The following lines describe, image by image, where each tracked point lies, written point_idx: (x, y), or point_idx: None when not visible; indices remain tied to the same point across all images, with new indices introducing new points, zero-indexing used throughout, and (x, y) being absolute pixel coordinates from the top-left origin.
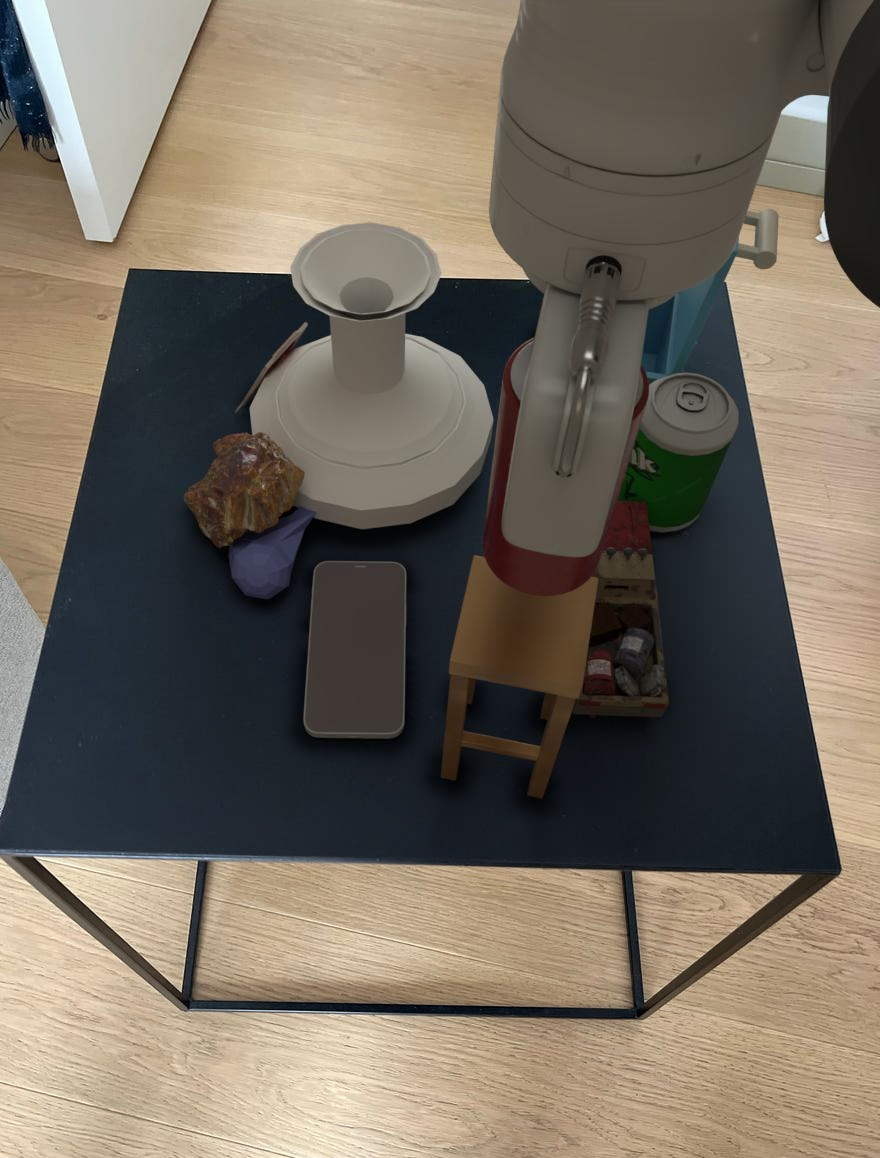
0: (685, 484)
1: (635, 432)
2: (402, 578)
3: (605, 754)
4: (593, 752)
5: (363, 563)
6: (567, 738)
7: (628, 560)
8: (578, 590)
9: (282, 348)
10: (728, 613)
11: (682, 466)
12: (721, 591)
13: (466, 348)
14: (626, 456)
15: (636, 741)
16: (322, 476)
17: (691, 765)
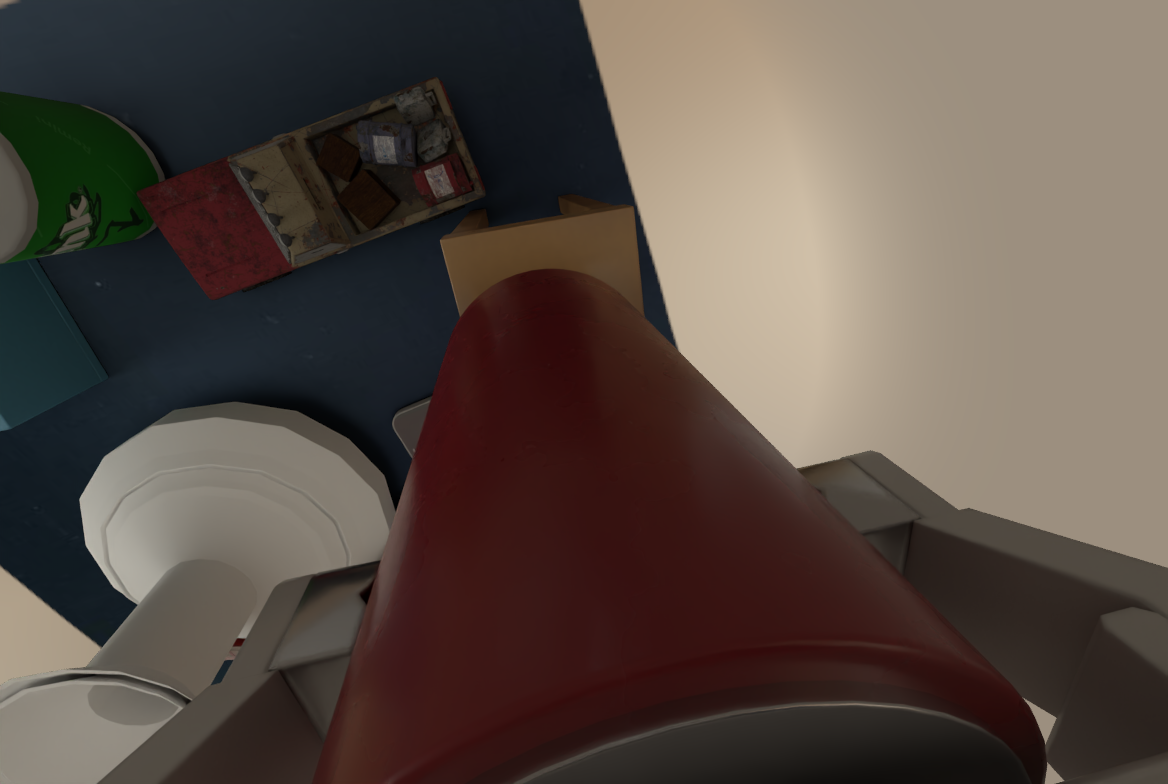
0: (67, 140)
1: (747, 504)
2: (407, 413)
3: (498, 141)
4: (501, 155)
5: (410, 451)
6: (498, 188)
7: (268, 191)
8: (477, 262)
9: (234, 656)
10: (221, 23)
11: (43, 155)
12: (190, 42)
13: (42, 479)
14: (713, 433)
15: (467, 108)
16: (365, 545)
17: (468, 30)
